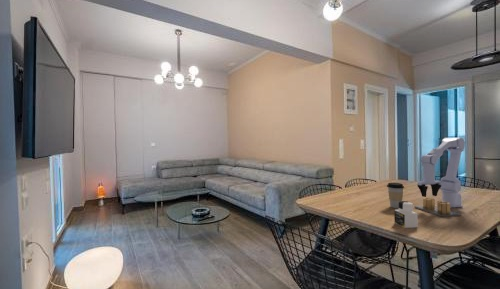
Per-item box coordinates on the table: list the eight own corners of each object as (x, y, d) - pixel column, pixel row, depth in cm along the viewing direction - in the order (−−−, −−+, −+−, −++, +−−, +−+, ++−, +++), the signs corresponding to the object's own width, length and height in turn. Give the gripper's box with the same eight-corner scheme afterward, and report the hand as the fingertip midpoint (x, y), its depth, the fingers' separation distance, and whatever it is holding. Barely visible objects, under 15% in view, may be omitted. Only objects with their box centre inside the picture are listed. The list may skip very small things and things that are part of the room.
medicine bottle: (394, 223, 120) (394, 200, 120) (406, 222, 121) (406, 199, 121) (404, 228, 113) (404, 204, 113) (417, 227, 114) (417, 203, 114)
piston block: (430, 206, 147) (430, 196, 147) (460, 215, 130) (460, 204, 130) (414, 207, 146) (414, 197, 145) (442, 217, 128) (442, 205, 128)
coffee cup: (407, 209, 142) (407, 185, 142) (390, 208, 144) (390, 185, 144) (400, 205, 152) (400, 182, 151) (384, 204, 153) (384, 182, 153)
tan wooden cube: (428, 205, 146) (428, 197, 145) (437, 208, 140) (436, 199, 140) (420, 206, 145) (420, 197, 145) (429, 209, 139) (429, 200, 139)
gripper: (433, 172, 147) (433, 193, 147) (413, 173, 144) (413, 195, 145) (444, 174, 140) (444, 196, 140) (423, 175, 137) (423, 198, 138)
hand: (429, 196), depth 142 cm, fingers open, 7 cm apart
